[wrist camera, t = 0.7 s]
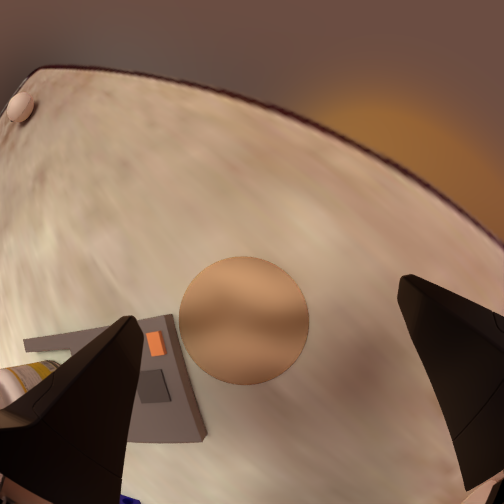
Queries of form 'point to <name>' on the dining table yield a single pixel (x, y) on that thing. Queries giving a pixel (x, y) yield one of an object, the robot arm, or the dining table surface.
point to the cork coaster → (243, 320)
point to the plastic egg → (20, 107)
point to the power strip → (149, 382)
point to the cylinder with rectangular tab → (480, 494)
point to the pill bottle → (22, 379)
